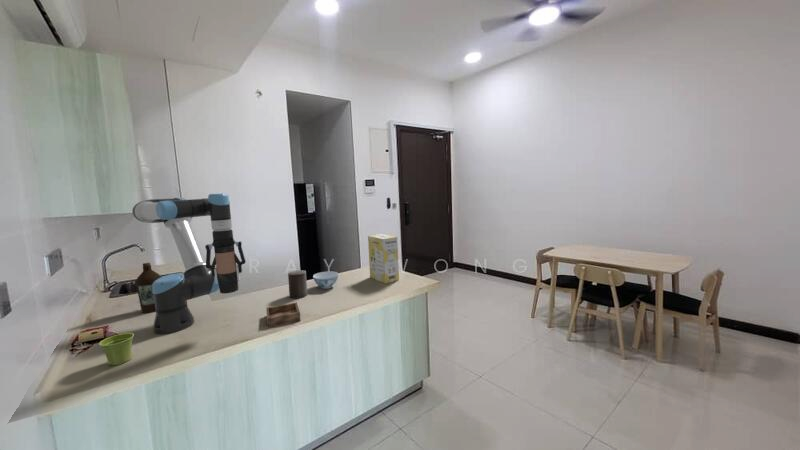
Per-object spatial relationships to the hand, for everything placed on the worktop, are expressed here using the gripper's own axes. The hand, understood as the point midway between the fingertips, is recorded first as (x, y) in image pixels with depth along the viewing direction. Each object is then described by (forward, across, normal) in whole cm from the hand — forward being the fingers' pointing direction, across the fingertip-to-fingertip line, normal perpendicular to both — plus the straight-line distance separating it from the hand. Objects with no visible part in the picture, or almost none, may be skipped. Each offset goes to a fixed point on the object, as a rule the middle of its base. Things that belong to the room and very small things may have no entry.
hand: (228, 281), depth 136 cm
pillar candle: (+21, +30, +30) cm, 48 cm away
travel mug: (+4, 0, 0) cm, 4 cm away
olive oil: (+21, -42, +46) cm, 65 cm away
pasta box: (+22, +84, +36) cm, 94 cm away
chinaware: (+21, +47, +37) cm, 64 cm away
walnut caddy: (+21, +21, +1) cm, 30 cm away
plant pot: (+21, -36, -11) cm, 43 cm away
